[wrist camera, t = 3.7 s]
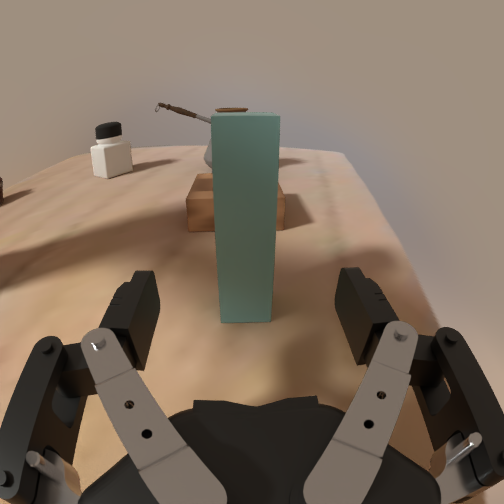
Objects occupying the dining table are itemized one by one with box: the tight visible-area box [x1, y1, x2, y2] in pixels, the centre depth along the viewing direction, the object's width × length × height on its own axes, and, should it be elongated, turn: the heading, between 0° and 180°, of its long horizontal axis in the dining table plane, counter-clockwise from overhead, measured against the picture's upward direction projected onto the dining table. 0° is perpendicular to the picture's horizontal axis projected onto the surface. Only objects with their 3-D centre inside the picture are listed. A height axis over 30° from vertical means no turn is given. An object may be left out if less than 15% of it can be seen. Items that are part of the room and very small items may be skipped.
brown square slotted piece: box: [186, 173, 285, 232], centre depth 38 cm, size 11×11×4 cm
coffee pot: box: [155, 103, 248, 168], centre depth 56 cm, size 21×12×15 cm, turn 88°
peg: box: [211, 112, 280, 323], centre depth 19 cm, size 4×4×14 cm
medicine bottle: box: [91, 122, 133, 179], centre depth 58 cm, size 7×7×12 cm
